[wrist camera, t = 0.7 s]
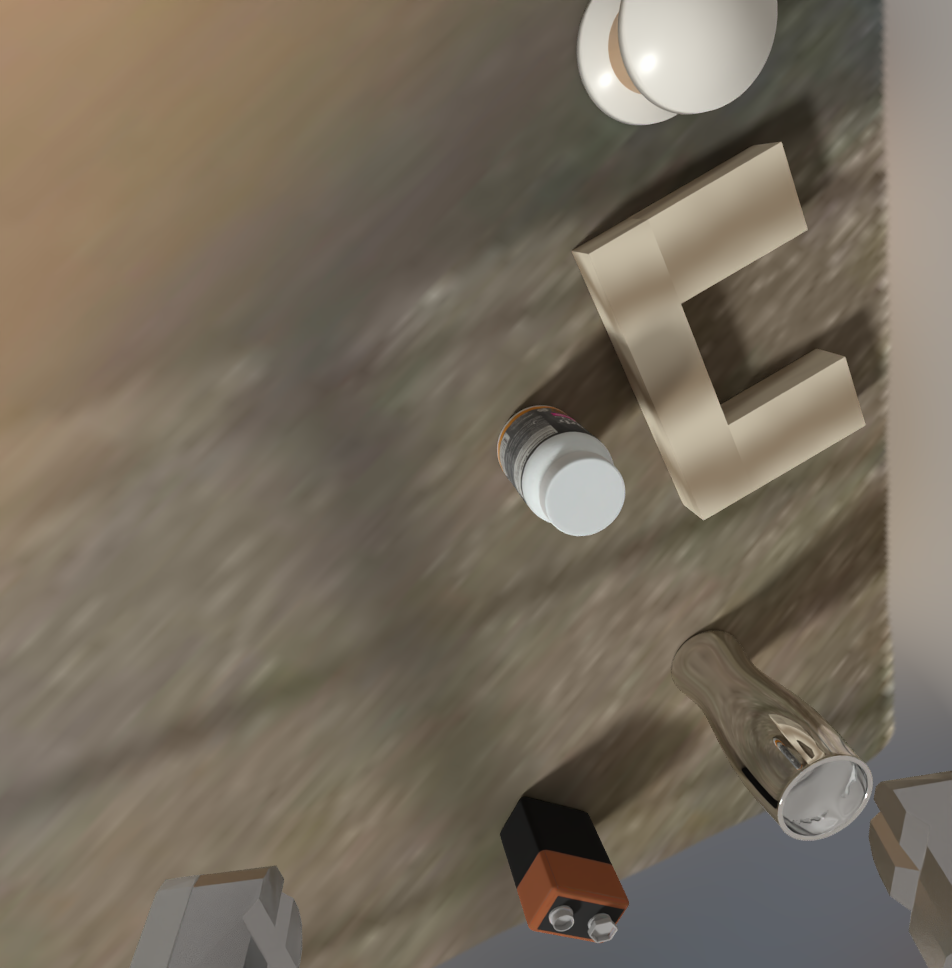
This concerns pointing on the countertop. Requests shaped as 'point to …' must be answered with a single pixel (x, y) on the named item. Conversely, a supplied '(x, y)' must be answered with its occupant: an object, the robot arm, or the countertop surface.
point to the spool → (671, 54)
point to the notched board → (673, 350)
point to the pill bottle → (561, 470)
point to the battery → (562, 872)
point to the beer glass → (773, 739)
